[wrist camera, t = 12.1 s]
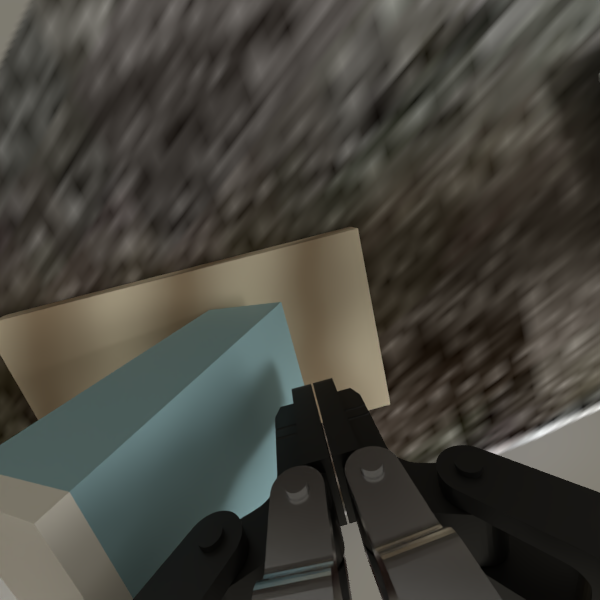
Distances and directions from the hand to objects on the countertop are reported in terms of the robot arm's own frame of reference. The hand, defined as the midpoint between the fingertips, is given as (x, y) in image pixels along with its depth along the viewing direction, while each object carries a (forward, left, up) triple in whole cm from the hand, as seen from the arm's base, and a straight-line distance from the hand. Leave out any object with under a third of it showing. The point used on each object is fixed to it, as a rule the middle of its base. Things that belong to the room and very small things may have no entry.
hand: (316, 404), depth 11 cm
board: (+5, 0, -7) cm, 9 cm away
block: (+2, 0, -4) cm, 5 cm away
